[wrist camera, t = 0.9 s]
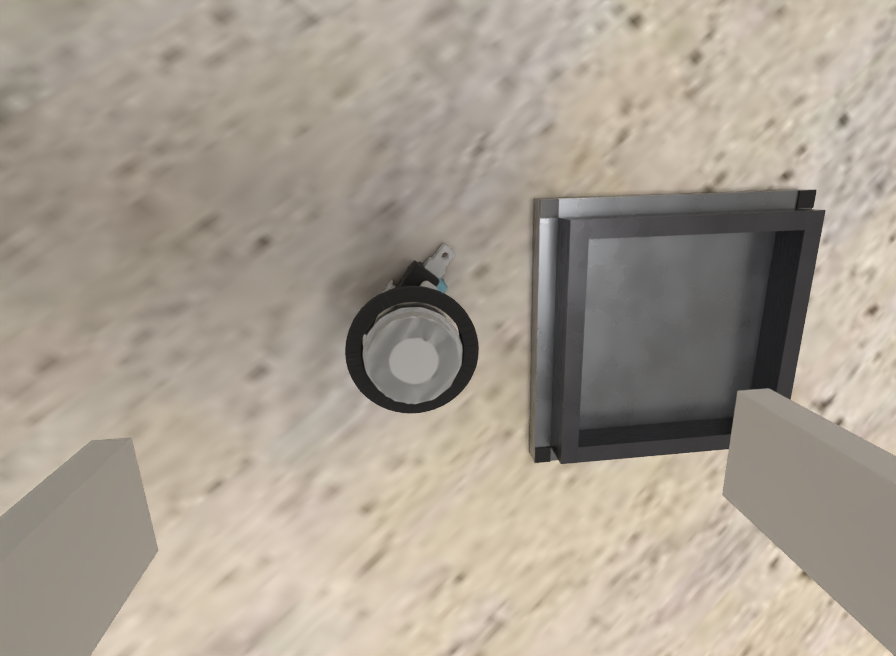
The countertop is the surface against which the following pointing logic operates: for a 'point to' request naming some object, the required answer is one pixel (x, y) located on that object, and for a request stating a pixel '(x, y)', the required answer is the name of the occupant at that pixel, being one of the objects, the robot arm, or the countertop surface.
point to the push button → (413, 342)
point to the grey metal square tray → (663, 317)
